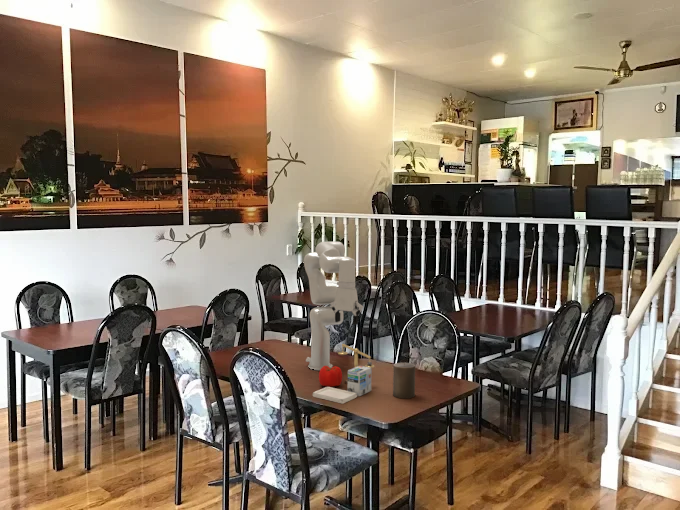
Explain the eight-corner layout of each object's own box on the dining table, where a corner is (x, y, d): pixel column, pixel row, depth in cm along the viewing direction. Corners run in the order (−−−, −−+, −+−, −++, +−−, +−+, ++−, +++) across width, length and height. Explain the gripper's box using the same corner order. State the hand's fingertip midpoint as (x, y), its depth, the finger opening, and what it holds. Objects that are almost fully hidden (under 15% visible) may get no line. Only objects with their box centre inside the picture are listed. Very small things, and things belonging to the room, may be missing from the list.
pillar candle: (414, 399, 258) (415, 365, 257) (391, 397, 260) (392, 364, 259) (415, 392, 268) (416, 360, 267) (393, 391, 269) (394, 358, 268)
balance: (334, 381, 284) (335, 344, 283) (342, 378, 289) (342, 342, 288) (370, 388, 273) (370, 350, 271) (376, 385, 278) (377, 347, 276)
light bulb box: (359, 396, 261) (360, 372, 260) (346, 394, 265) (347, 370, 264) (371, 390, 270) (372, 367, 269) (359, 388, 273) (359, 365, 273)
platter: (312, 396, 260) (312, 392, 260) (327, 390, 269) (327, 386, 269) (342, 403, 251) (342, 399, 251) (357, 397, 260) (357, 393, 260)
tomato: (315, 388, 272) (315, 369, 271) (323, 381, 284) (323, 362, 283) (338, 390, 269) (338, 371, 268) (345, 383, 281) (345, 364, 280)
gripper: (326, 284, 271) (326, 321, 272) (358, 287, 261) (357, 326, 262) (336, 283, 277) (335, 319, 278) (367, 286, 267) (366, 323, 268)
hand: (346, 322), depth 270 cm, fingers open, 9 cm apart
